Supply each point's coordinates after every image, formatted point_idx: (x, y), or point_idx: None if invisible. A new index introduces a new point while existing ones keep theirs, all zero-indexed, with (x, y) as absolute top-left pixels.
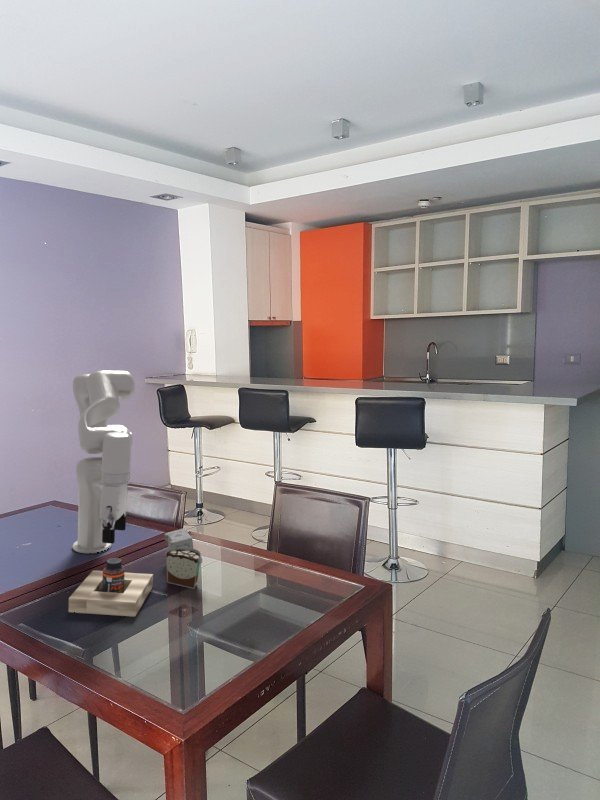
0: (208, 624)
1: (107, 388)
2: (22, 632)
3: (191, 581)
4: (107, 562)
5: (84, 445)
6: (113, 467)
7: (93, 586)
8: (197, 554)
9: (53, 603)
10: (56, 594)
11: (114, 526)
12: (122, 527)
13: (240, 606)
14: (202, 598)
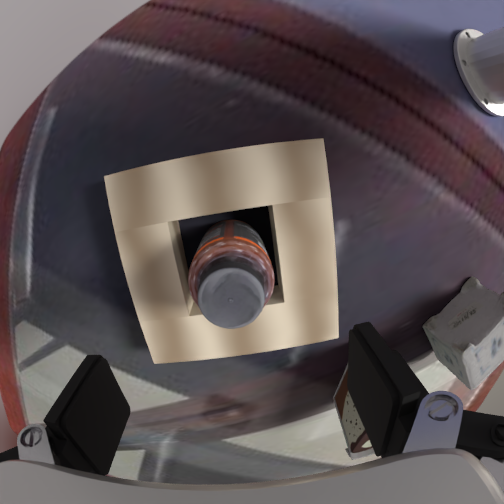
0: (195, 449)
1: None
2: (28, 141)
3: (340, 402)
4: (203, 280)
5: None
6: None
7: (199, 204)
8: None
9: (154, 105)
10: (207, 80)
11: (357, 344)
12: (352, 392)
13: (275, 466)
14: (291, 422)
